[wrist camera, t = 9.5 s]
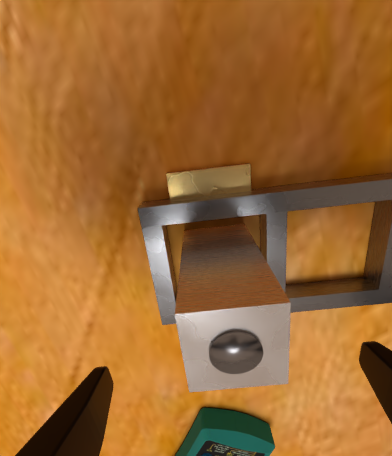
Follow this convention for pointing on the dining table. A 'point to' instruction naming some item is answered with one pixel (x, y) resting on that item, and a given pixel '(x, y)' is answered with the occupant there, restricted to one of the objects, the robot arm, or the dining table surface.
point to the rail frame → (271, 230)
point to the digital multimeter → (227, 435)
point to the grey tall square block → (230, 312)
